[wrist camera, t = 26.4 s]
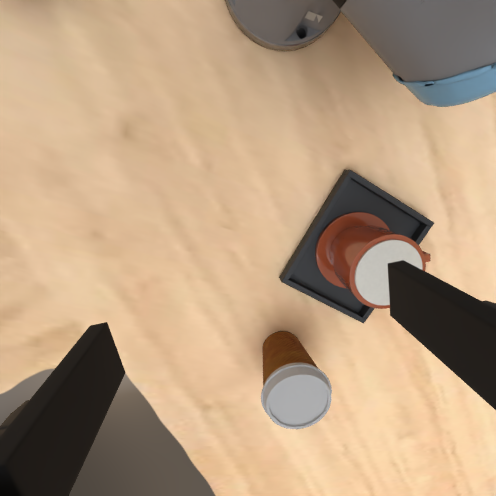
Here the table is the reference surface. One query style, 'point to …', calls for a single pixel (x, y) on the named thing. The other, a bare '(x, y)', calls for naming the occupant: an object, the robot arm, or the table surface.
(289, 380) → the disposable coffee cup
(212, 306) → the table surface
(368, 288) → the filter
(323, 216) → the drip tray
